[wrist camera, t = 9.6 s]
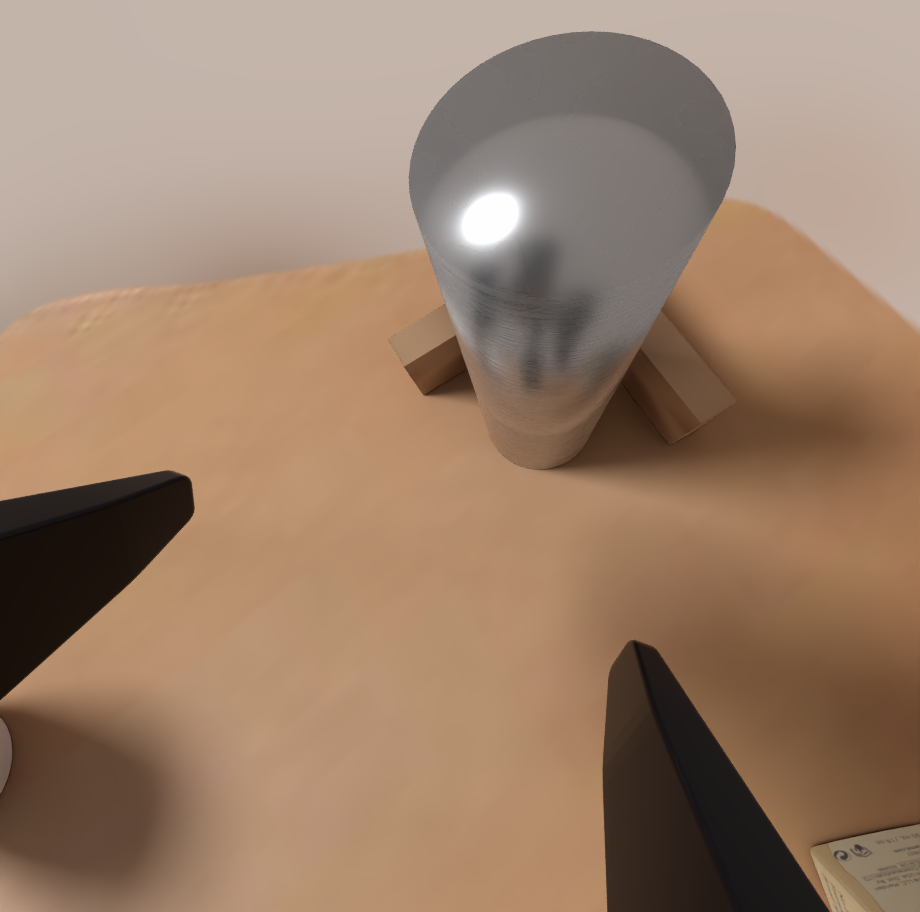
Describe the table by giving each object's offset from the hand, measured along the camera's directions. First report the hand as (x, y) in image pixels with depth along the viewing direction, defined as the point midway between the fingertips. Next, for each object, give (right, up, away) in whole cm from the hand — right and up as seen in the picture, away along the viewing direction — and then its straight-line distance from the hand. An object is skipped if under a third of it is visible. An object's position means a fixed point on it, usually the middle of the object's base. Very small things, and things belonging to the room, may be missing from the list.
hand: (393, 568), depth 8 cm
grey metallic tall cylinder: (+5, +4, +12) cm, 14 cm away
